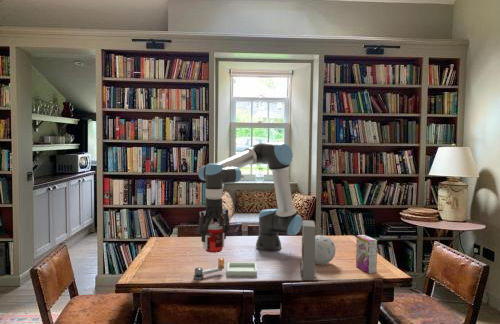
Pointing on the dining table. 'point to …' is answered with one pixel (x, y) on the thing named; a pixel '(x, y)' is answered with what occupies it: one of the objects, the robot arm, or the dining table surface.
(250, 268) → the tray
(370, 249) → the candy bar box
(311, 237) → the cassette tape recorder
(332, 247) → the puzzle ball
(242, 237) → the dining table surface
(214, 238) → the canned food
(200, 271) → the crank
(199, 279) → the crank pedestal
